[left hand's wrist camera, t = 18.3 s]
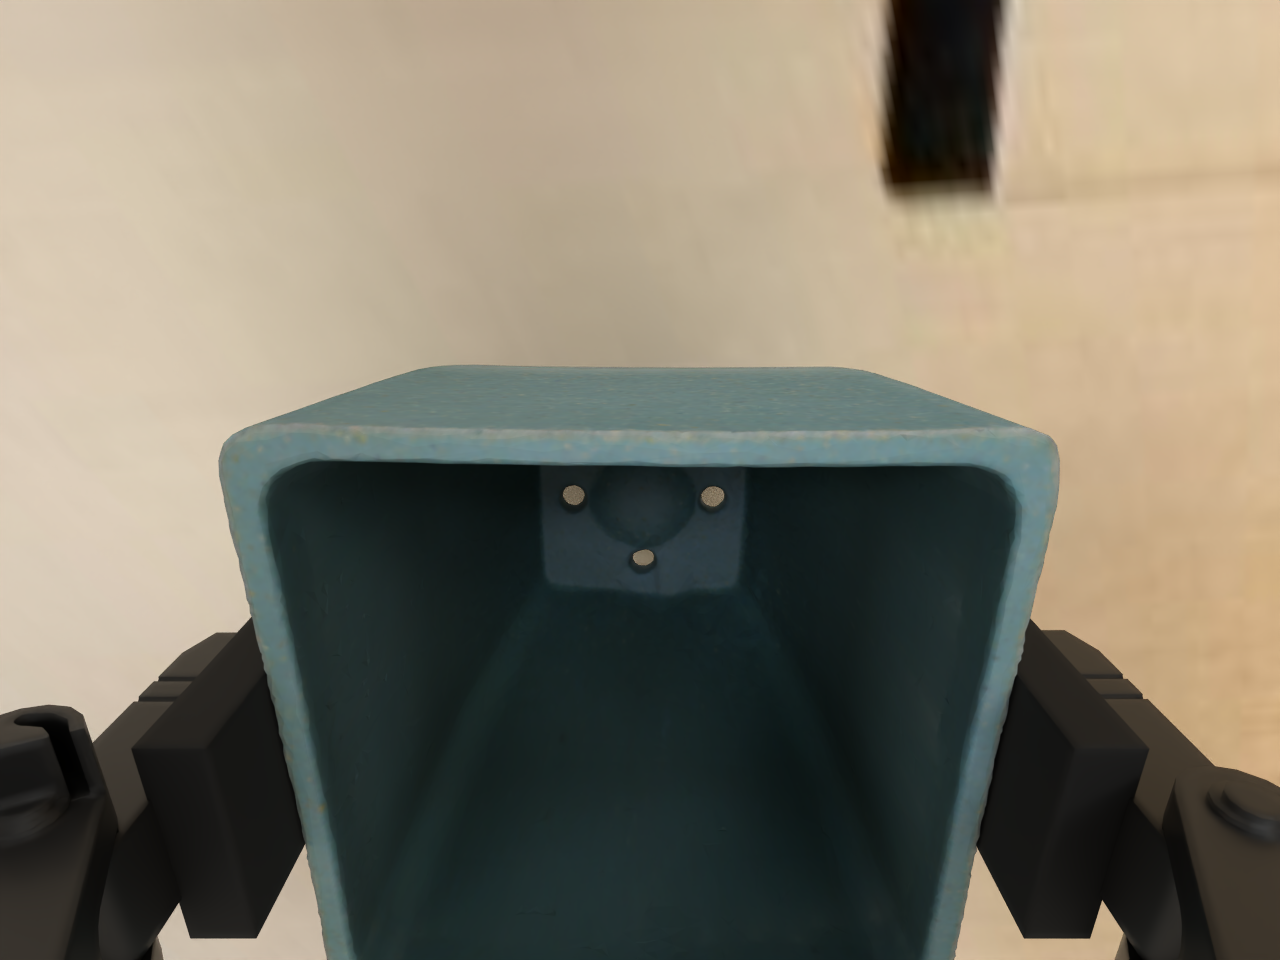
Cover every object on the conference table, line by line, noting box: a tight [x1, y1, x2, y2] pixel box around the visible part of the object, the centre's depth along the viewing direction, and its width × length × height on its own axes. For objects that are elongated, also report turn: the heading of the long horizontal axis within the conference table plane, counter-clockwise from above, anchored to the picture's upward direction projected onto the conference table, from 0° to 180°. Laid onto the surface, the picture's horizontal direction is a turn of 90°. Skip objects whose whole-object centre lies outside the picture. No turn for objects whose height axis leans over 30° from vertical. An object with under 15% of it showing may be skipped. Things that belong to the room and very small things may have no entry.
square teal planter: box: [219, 365, 1060, 960], centre depth 13 cm, size 9×9×9 cm
